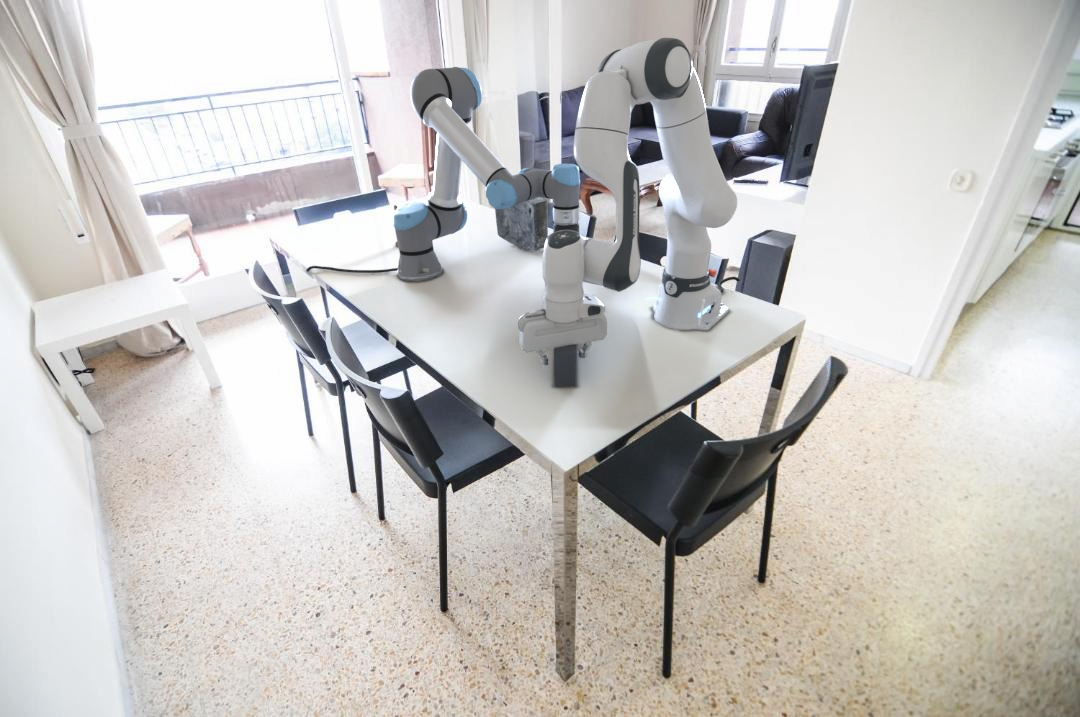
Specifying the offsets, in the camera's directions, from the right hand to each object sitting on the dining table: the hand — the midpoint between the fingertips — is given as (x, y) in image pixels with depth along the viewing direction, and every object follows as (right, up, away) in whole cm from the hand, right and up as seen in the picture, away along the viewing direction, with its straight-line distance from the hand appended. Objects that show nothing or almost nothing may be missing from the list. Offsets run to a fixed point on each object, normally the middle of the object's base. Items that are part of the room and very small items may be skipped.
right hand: (563, 360), depth 116 cm
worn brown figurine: (-59, +48, +90) cm, 118 cm away
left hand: (+3, +20, +39) cm, 44 cm away
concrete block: (-12, +45, +81) cm, 93 cm away
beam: (+2, +8, +21) cm, 22 cm away
